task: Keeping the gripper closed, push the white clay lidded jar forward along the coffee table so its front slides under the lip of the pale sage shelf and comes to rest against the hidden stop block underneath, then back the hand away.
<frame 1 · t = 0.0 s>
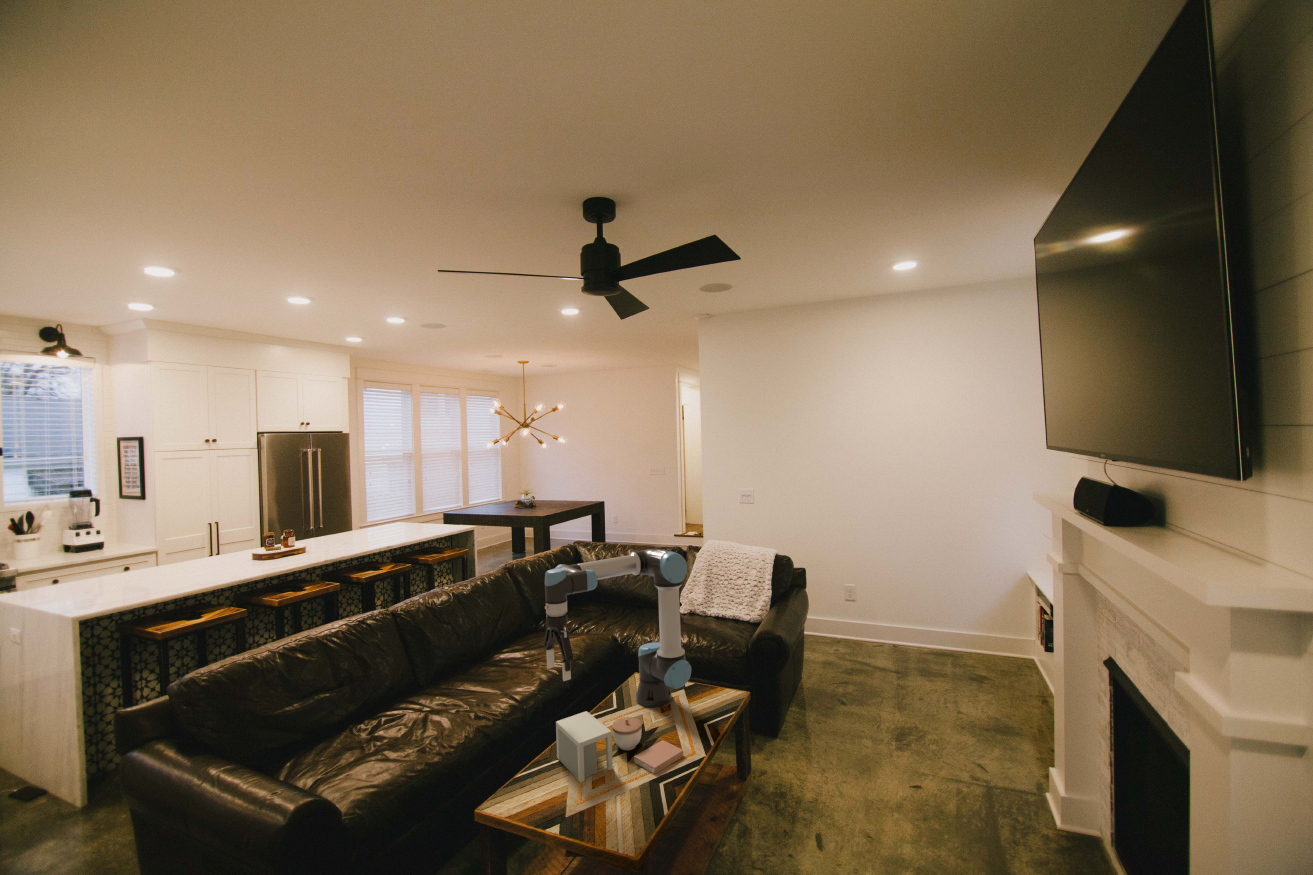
hand: (558, 673, 192), 28 cm above the table, fingers open, 13 cm apart
book: (659, 760, 185), on the table
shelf: (584, 762, 185), on the table
lidded jar: (627, 746, 195), on the table
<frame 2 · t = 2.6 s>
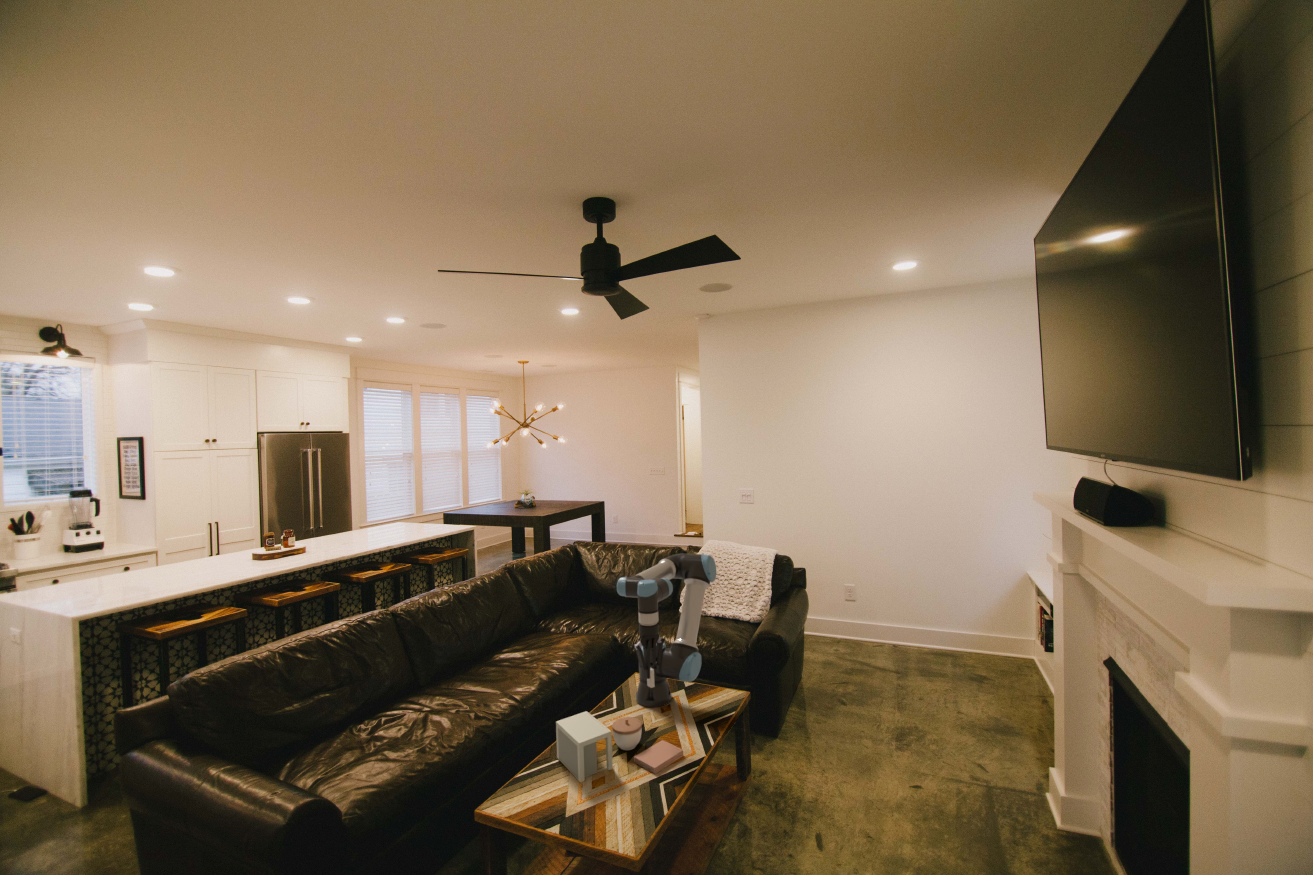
hand: (650, 686, 201), 18 cm above the table, fingers closed
nothing on the table moved.
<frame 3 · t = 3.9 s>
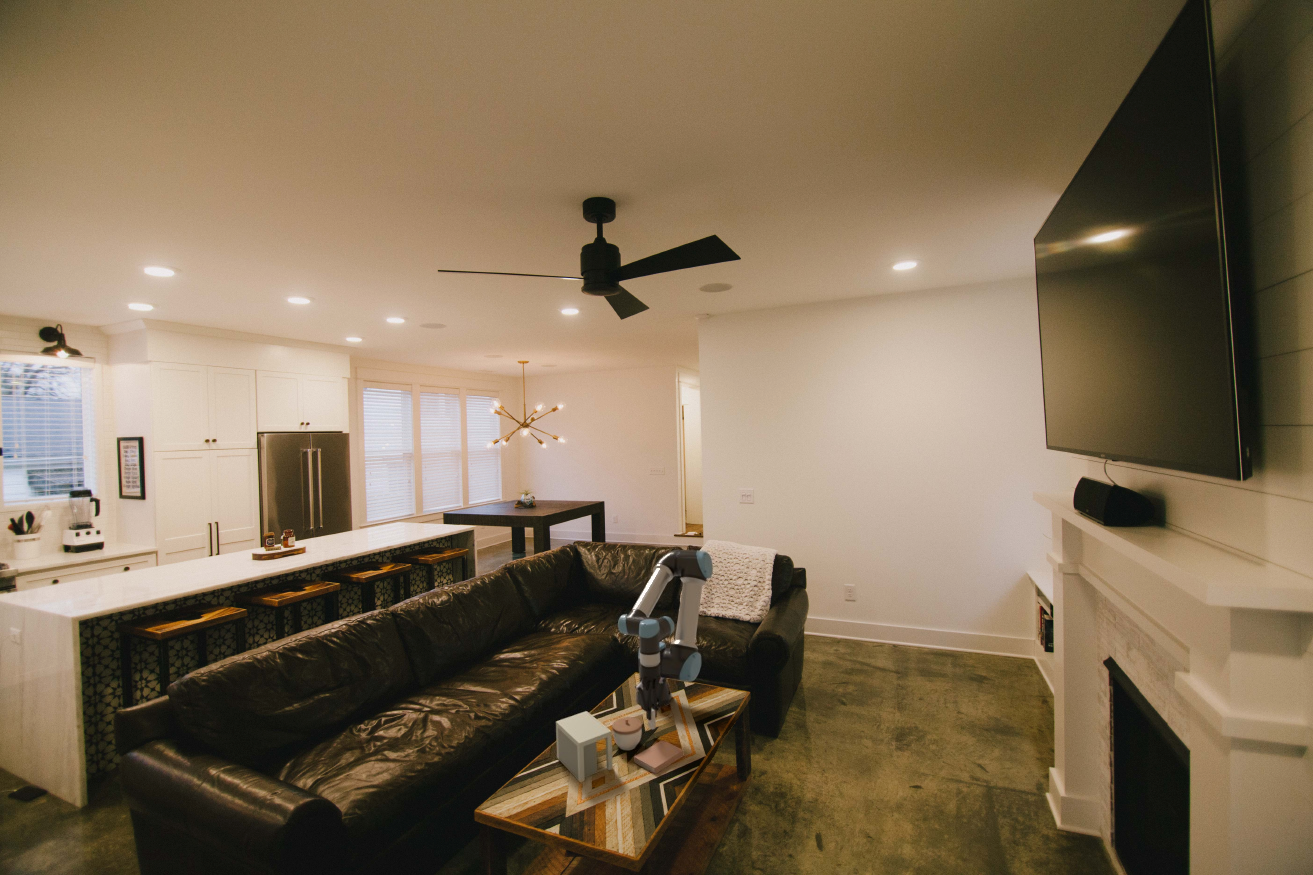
hand: (652, 727, 201), 3 cm above the table, fingers closed
nothing on the table moved.
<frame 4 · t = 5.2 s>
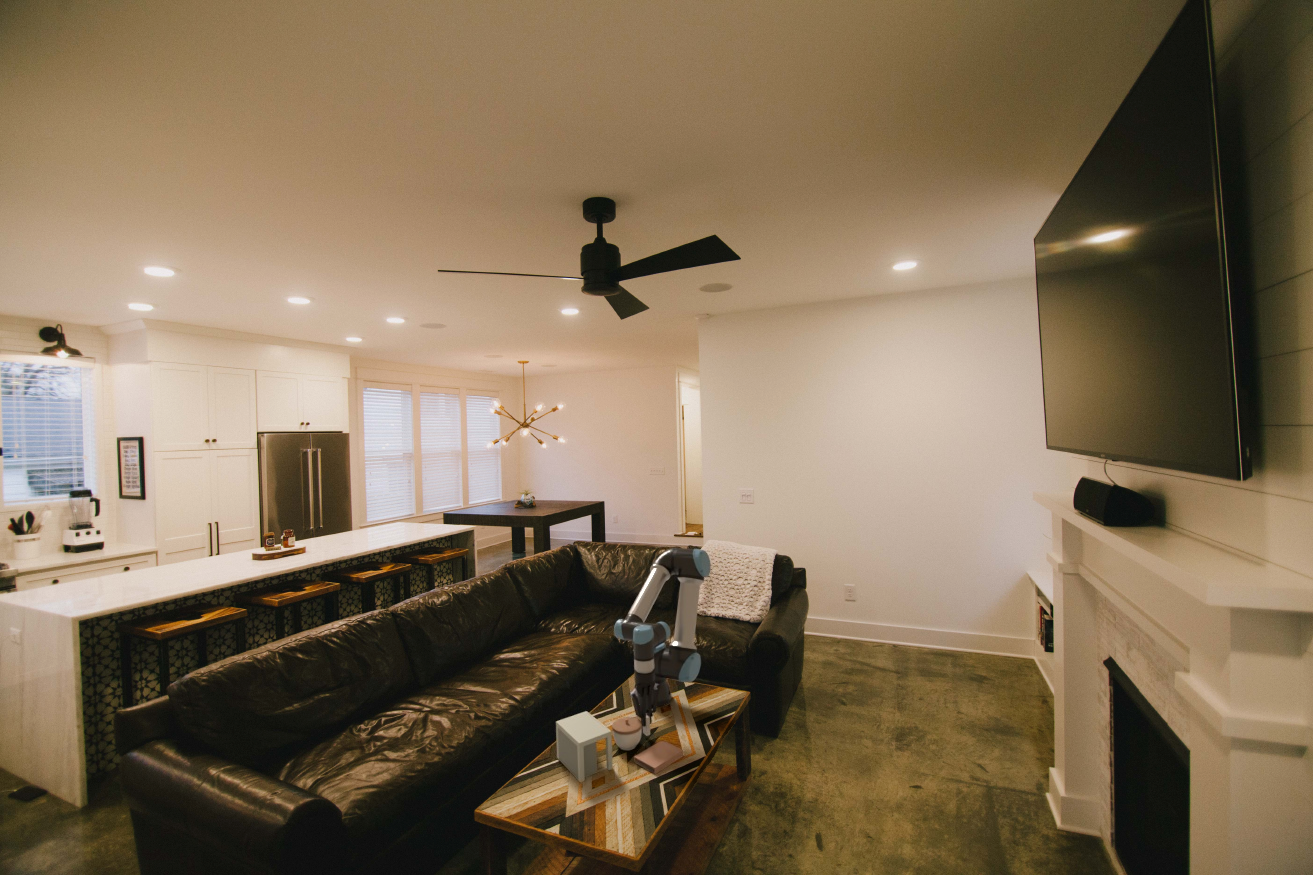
hand: (646, 733, 199), 2 cm above the table, fingers closed
lidded jar: (627, 746, 195), on the table, touching gripper
everything else where it was.
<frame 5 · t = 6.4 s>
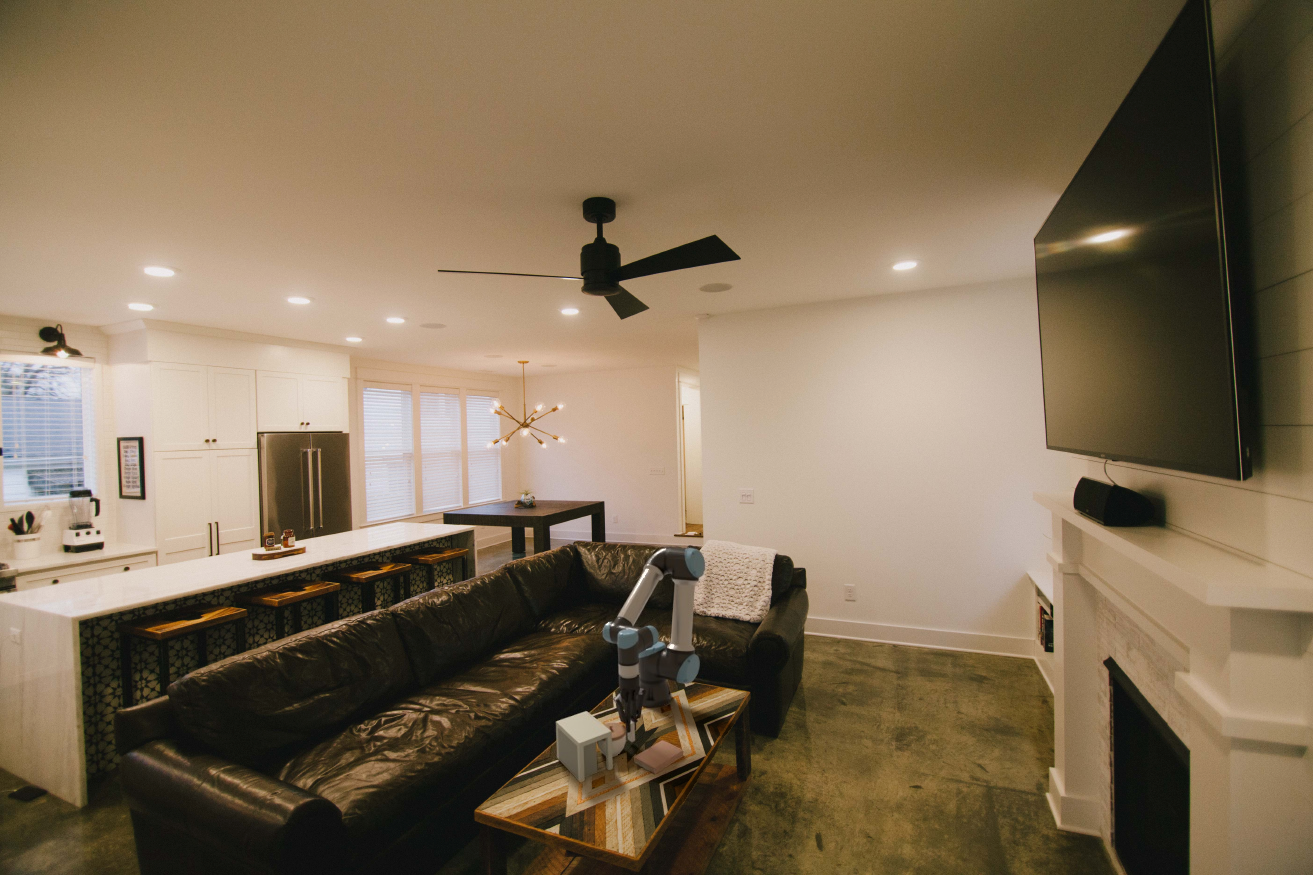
hand: (631, 739, 195), 2 cm above the table, fingers closed
lidded jar: (611, 752, 191), on the table, touching gripper
everything else where it was.
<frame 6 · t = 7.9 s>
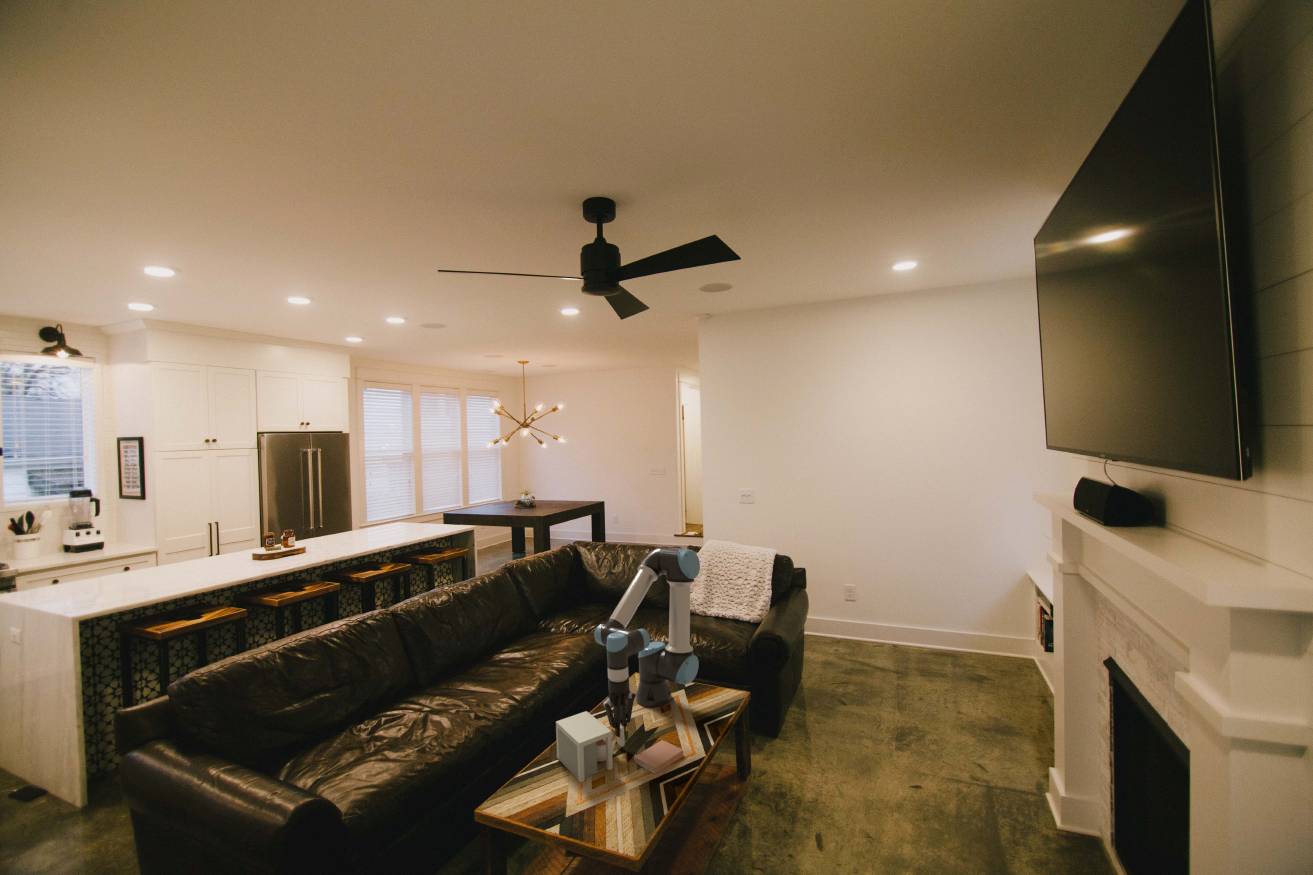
hand: (621, 744, 193), 1 cm above the table, fingers closed
lidded jar: (600, 757, 188), on the table, touching gripper, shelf
everything else where it was.
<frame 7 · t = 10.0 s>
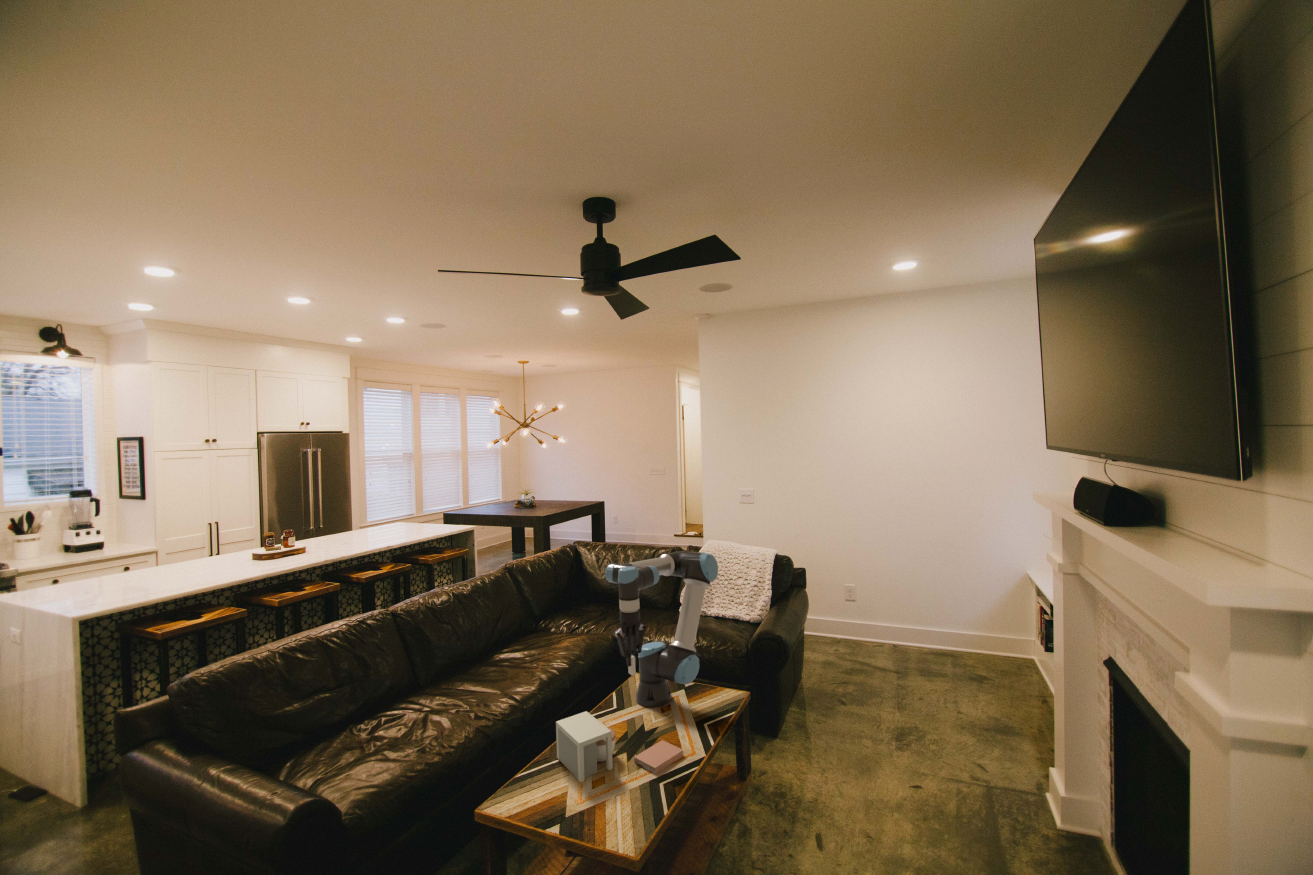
hand: (632, 673, 199), 24 cm above the table, fingers closed
lidded jar: (600, 757, 188), on the table
everything else where it was.
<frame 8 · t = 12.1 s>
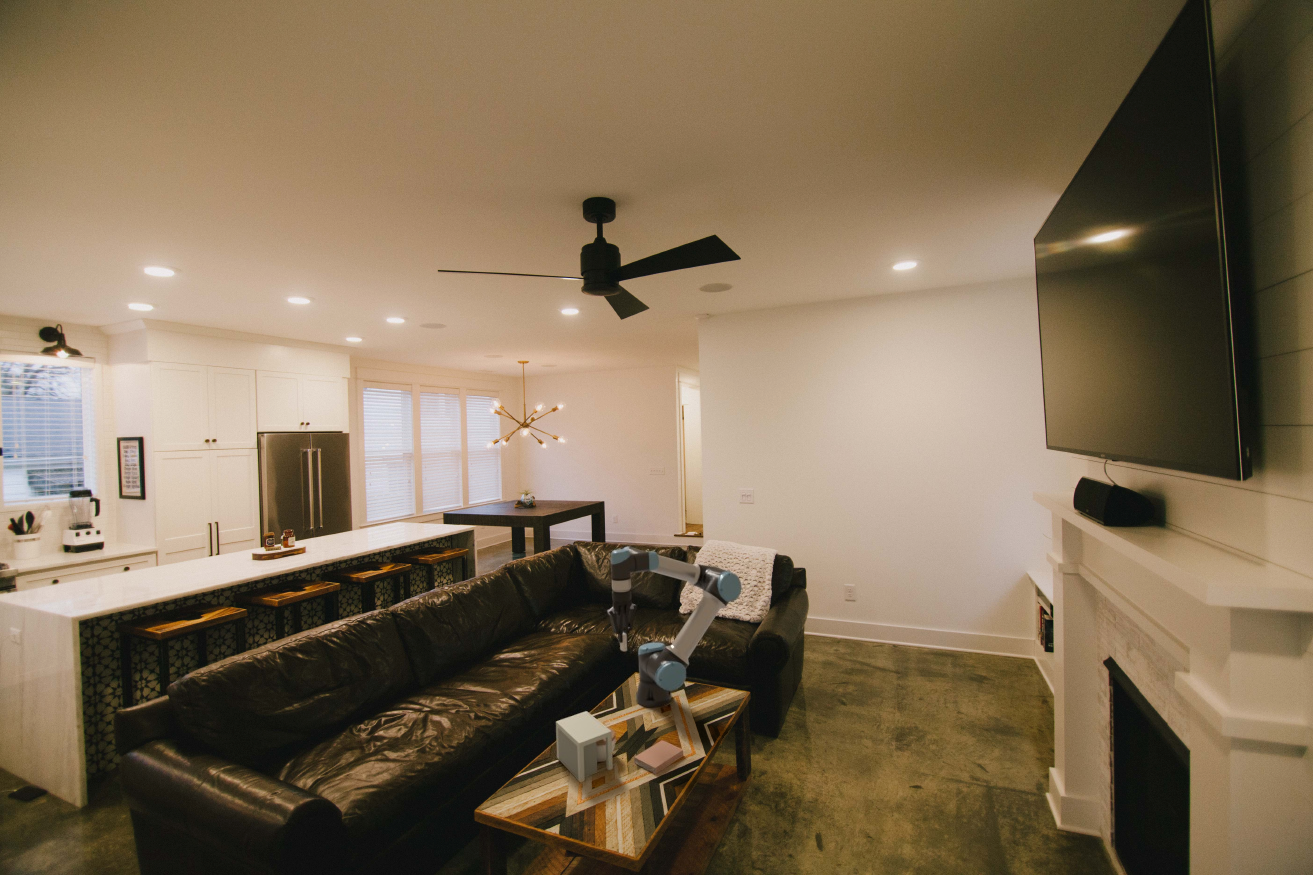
hand: (623, 649, 211), 28 cm above the table, fingers closed
nothing on the table moved.
at the end: lidded jar 0.6 cm from the target spot on the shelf, point 0.0 cm above the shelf's base; lidded jar tilted 0°; book moved 0.6 cm from its start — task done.
